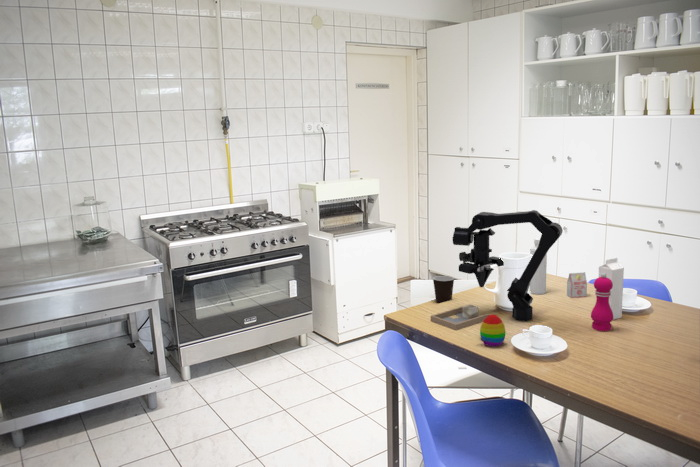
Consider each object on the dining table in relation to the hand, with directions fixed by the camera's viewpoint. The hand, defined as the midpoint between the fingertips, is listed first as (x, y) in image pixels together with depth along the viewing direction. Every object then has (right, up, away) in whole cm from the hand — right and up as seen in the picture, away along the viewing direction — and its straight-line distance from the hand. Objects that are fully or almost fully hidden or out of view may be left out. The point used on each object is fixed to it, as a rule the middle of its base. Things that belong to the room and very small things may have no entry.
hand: (481, 287), depth 215 cm
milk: (+47, -11, -3) cm, 48 cm away
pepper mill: (+39, -13, -14) cm, 43 cm away
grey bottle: (+31, -5, +31) cm, 44 cm away
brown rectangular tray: (-9, -13, -4) cm, 17 cm away
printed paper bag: (+45, -6, +23) cm, 51 cm away
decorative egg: (-2, -17, -24) cm, 29 cm away
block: (-4, -11, -1) cm, 12 cm away
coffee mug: (-9, -8, +25) cm, 28 cm away
